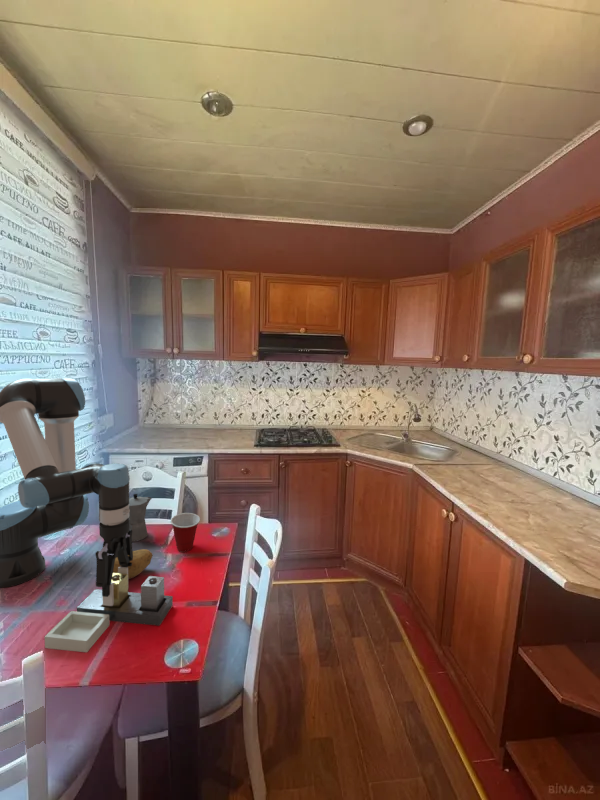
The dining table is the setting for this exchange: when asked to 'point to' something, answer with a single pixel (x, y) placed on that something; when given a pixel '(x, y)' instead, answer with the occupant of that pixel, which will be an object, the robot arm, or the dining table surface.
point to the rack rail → (126, 609)
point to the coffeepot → (138, 516)
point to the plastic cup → (185, 530)
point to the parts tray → (77, 631)
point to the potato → (136, 562)
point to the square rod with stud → (152, 594)
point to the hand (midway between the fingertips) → (116, 596)
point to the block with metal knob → (119, 589)
